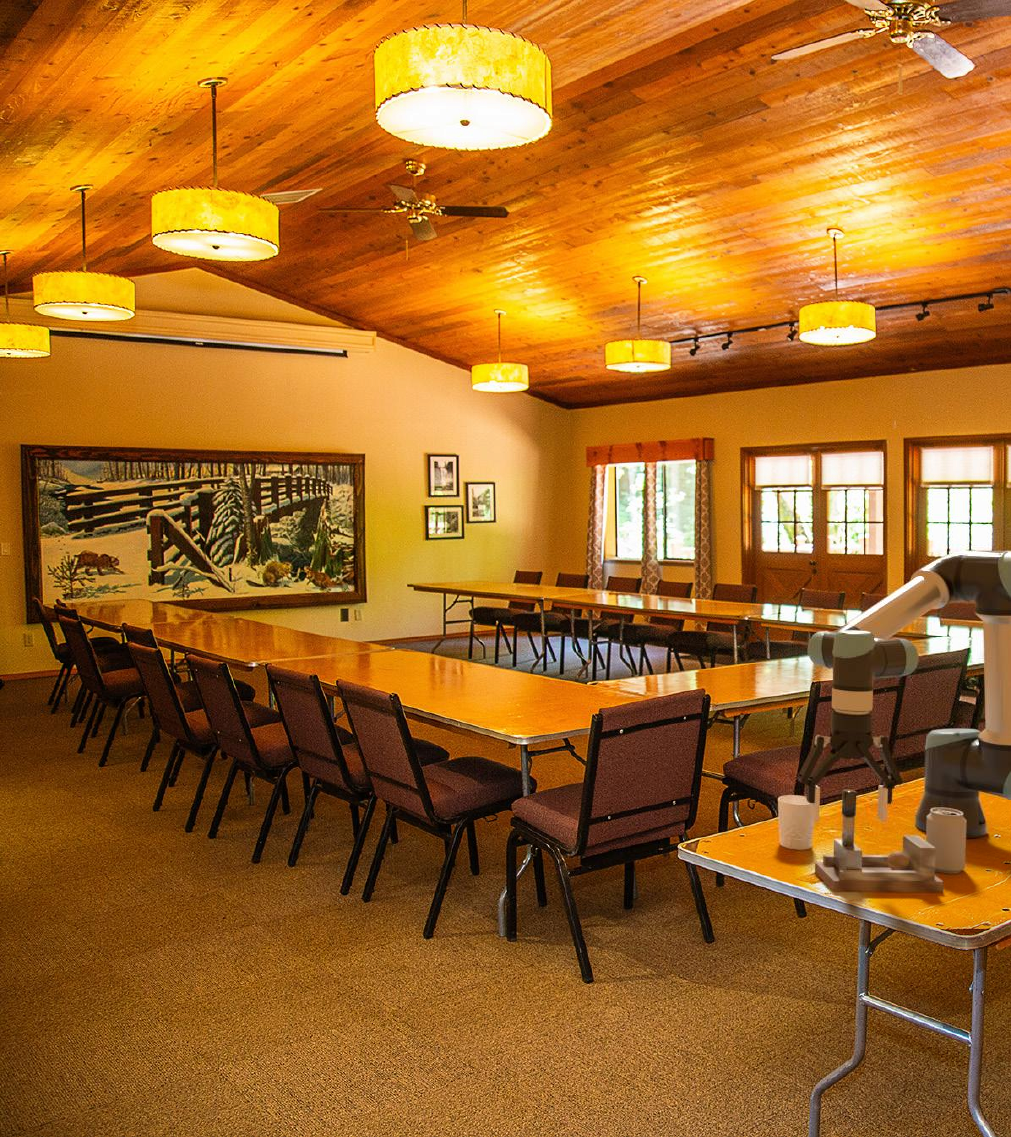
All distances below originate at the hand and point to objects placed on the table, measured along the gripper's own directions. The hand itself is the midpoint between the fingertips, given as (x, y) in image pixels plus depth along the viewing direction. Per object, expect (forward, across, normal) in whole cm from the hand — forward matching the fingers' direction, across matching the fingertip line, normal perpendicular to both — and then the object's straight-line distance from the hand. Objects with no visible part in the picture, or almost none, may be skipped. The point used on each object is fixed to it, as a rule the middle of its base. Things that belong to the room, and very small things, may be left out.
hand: (848, 820), depth 201 cm
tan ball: (+10, -10, 0) cm, 14 cm away
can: (+12, -23, -8) cm, 27 cm away
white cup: (+12, +3, -23) cm, 26 cm away
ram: (+10, 0, 0) cm, 10 cm away
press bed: (+12, -6, 0) cm, 14 cm away
